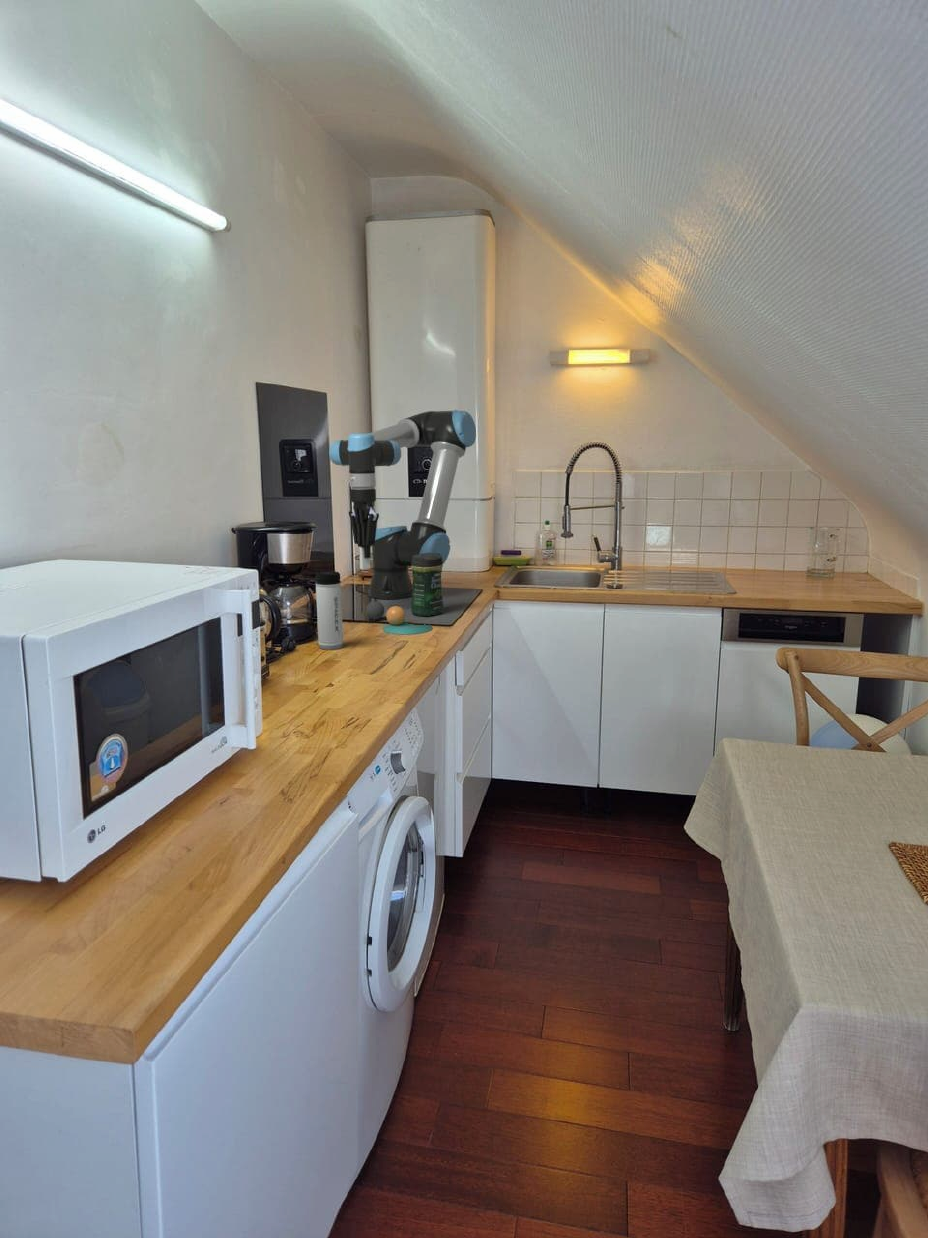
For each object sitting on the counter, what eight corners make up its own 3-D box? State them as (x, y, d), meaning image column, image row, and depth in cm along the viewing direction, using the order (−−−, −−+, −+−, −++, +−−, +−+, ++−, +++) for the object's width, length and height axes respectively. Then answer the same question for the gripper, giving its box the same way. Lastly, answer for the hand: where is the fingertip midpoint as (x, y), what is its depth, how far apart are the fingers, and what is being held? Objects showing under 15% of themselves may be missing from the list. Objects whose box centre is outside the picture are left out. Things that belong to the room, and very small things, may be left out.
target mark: (410, 620, 240) (410, 620, 240) (442, 628, 231) (442, 627, 230) (372, 628, 231) (372, 627, 231) (404, 637, 221) (404, 636, 221)
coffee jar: (427, 618, 243) (426, 556, 239) (407, 615, 248) (405, 553, 244) (448, 612, 251) (447, 552, 247) (428, 609, 256) (427, 550, 252)
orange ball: (397, 602, 237) (408, 606, 233) (399, 620, 239) (410, 624, 235) (381, 606, 234) (392, 610, 230) (383, 625, 236) (394, 629, 231)
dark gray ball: (385, 599, 240) (388, 617, 240) (378, 599, 245) (381, 618, 245) (367, 602, 237) (371, 621, 238) (361, 603, 242) (364, 621, 243)
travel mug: (318, 644, 214) (314, 568, 210) (344, 643, 215) (341, 567, 210) (316, 650, 208) (312, 572, 204) (342, 649, 208) (339, 571, 204)
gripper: (339, 487, 241) (342, 567, 246) (363, 489, 231) (366, 572, 236) (361, 486, 246) (364, 564, 251) (386, 488, 236) (388, 570, 241)
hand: (365, 568), depth 243 cm, fingers closed
